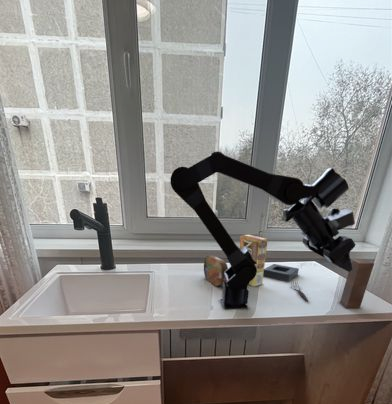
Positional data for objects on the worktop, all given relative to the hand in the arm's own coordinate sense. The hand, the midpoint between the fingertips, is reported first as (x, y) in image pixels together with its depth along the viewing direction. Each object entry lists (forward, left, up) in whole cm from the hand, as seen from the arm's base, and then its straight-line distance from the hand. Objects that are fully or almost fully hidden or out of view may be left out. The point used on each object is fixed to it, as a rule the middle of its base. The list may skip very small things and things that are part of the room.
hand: (342, 265), depth 78 cm
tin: (-31, +23, -12) cm, 40 cm away
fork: (-5, +10, -12) cm, 17 cm away
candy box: (-19, +22, -12) cm, 31 cm away
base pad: (-5, +29, -12) cm, 31 cm away
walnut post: (+5, 0, -12) cm, 13 cm away
